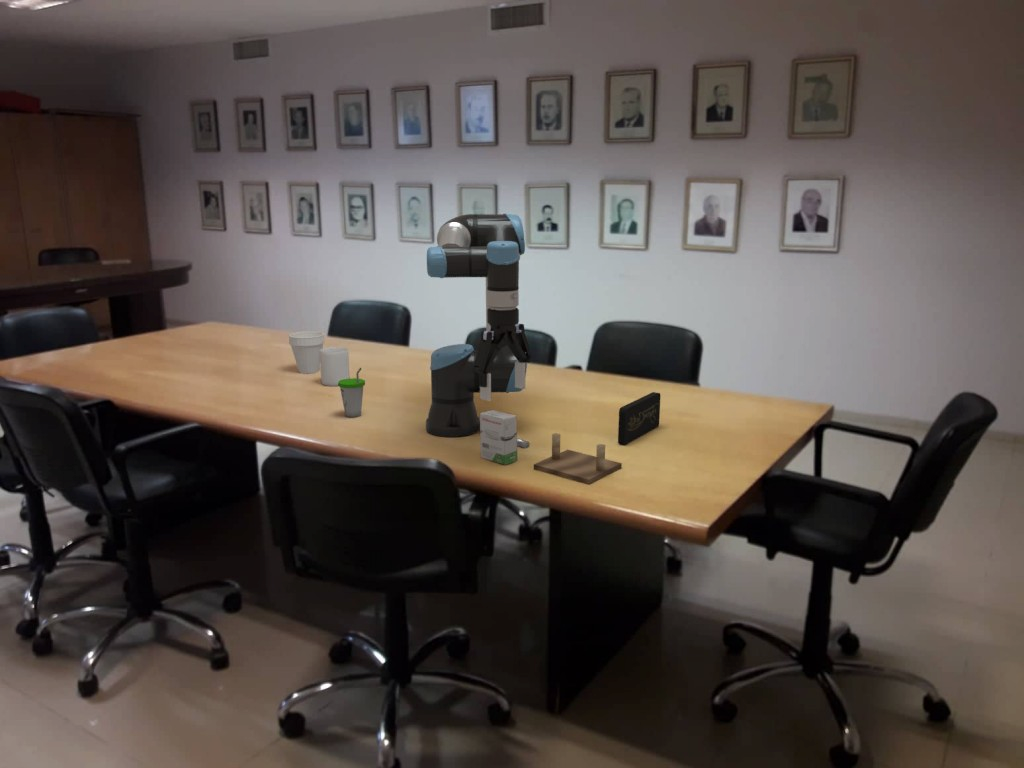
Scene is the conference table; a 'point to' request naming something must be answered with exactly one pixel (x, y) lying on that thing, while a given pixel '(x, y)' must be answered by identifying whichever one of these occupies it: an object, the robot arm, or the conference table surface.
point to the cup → (352, 395)
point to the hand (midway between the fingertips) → (503, 393)
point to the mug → (334, 365)
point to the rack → (577, 463)
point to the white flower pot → (307, 350)
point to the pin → (522, 443)
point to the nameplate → (638, 418)
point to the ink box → (498, 437)
